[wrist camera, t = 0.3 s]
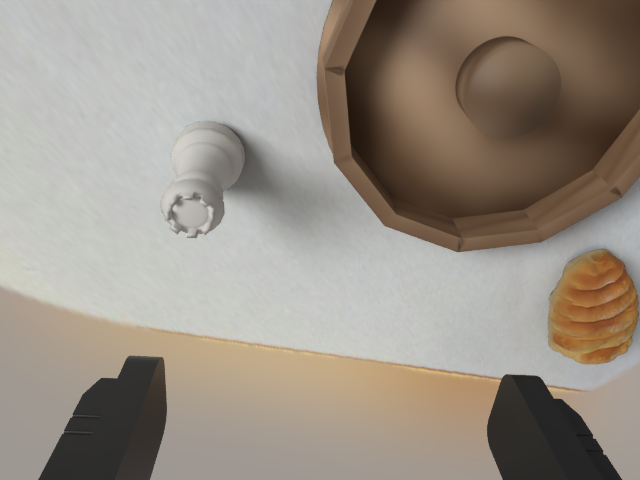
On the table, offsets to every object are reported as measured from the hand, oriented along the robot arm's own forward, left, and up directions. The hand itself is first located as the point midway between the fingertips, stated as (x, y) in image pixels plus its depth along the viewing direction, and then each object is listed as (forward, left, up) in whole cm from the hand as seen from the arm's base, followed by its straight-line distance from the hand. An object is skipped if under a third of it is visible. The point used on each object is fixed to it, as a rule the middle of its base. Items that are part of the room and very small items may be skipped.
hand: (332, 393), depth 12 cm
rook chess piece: (+6, -4, -22) cm, 24 cm away
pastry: (+7, +27, -23) cm, 36 cm away
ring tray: (-5, +10, -22) cm, 25 cm away
